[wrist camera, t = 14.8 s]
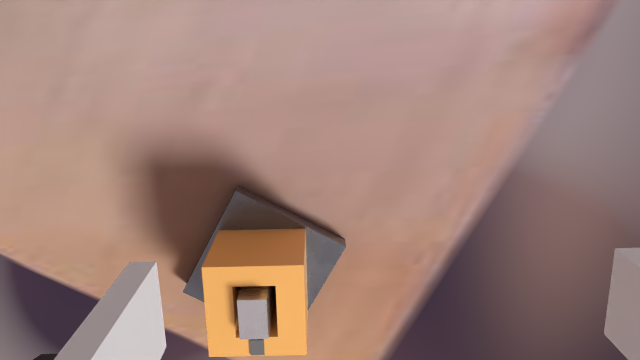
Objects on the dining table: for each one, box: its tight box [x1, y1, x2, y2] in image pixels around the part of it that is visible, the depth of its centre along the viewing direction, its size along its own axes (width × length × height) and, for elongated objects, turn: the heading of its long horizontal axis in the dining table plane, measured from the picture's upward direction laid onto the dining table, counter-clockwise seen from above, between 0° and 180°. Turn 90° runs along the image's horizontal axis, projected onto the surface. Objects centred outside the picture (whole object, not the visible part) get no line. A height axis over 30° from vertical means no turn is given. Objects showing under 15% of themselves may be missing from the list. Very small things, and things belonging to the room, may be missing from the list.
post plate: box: [183, 186, 346, 340], centre depth 42 cm, size 10×10×10 cm
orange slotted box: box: [202, 228, 308, 357], centre depth 42 cm, size 7×7×7 cm
